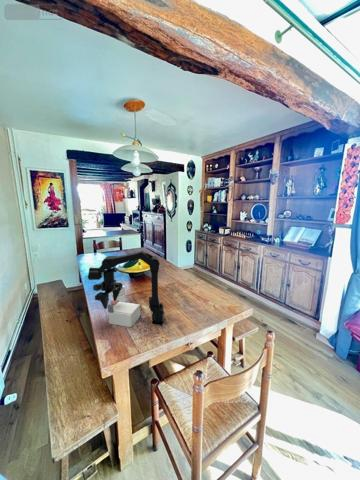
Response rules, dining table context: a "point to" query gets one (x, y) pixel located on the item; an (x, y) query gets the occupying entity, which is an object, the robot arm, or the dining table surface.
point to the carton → (128, 310)
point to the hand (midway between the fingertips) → (110, 304)
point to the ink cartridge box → (119, 296)
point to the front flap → (118, 317)
